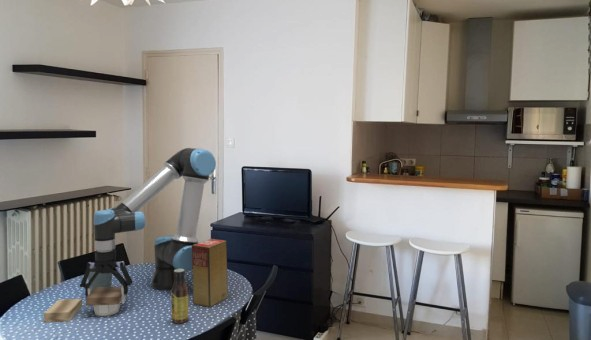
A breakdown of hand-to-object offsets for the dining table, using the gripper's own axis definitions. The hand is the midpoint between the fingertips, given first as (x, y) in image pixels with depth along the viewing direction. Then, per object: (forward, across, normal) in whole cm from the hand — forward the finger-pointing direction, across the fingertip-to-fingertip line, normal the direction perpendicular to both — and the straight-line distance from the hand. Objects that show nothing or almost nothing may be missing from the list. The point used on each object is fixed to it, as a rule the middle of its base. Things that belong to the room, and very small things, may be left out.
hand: (107, 303), depth 181 cm
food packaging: (+4, -40, -8) cm, 41 cm away
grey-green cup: (+4, +8, -19) cm, 21 cm away
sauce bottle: (+4, -30, +12) cm, 32 cm away
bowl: (+3, 0, 0) cm, 3 cm away
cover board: (-2, 0, 0) cm, 2 cm away
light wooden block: (+3, +16, +1) cm, 16 cm away
